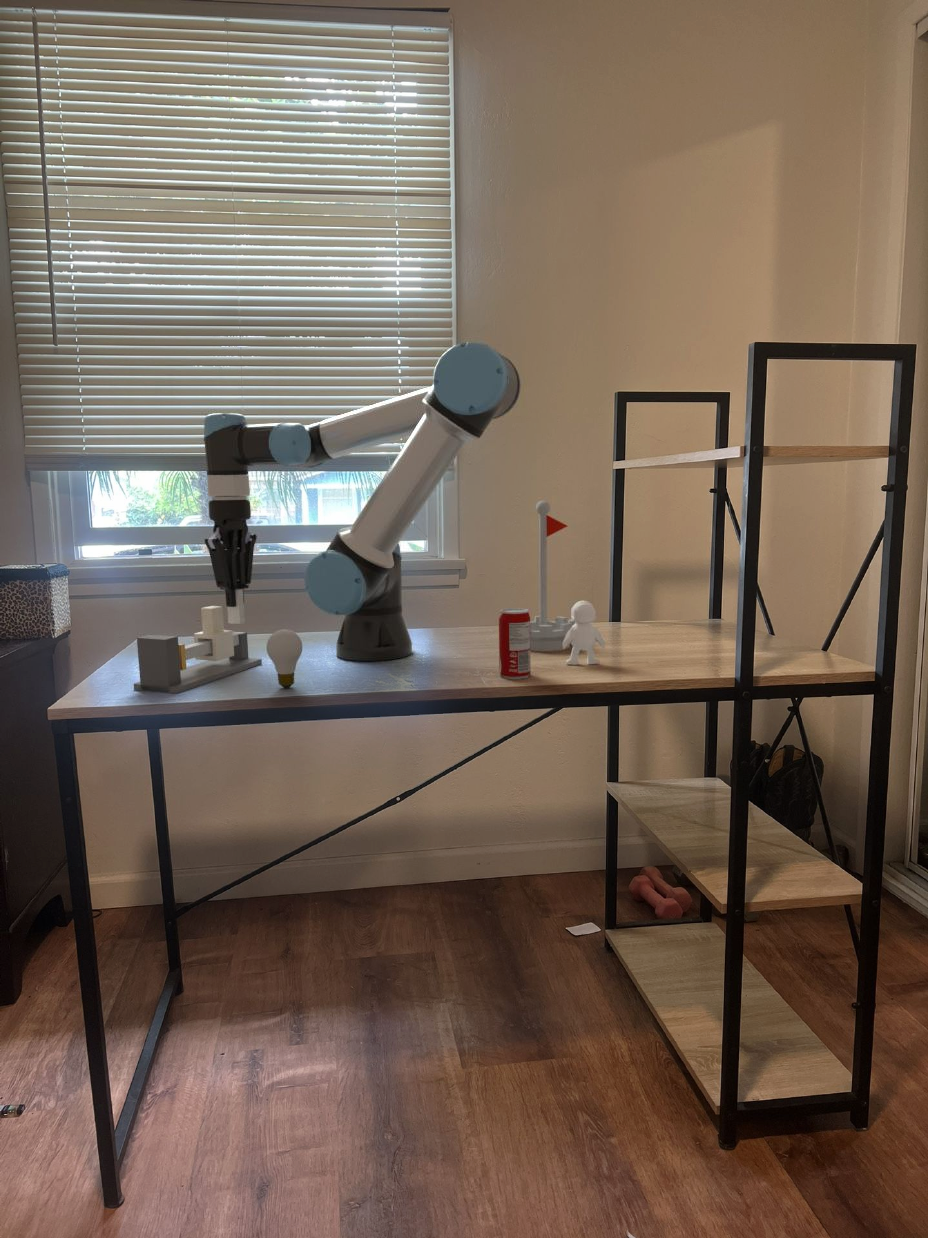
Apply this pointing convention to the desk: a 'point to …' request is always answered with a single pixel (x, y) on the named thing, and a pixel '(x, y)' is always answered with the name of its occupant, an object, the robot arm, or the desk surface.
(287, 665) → the light bulb
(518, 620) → the soda can
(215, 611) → the sleeve
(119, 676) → the desk surface
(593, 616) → the figurine
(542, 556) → the flag stand
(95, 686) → the desk surface
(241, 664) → the rail
